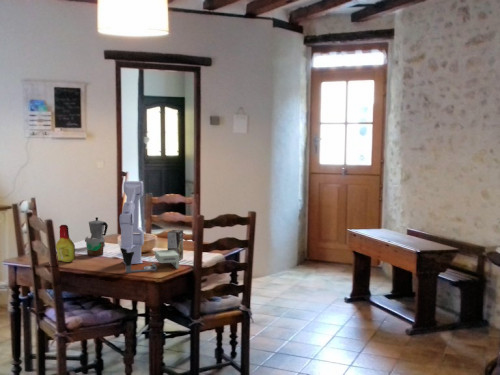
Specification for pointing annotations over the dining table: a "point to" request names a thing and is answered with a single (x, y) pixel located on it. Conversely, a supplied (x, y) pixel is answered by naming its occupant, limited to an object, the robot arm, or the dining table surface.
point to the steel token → (148, 267)
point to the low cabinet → (168, 257)
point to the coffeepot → (97, 229)
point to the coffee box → (176, 242)
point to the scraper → (128, 270)
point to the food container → (94, 246)
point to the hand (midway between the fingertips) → (127, 263)
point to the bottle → (65, 246)
